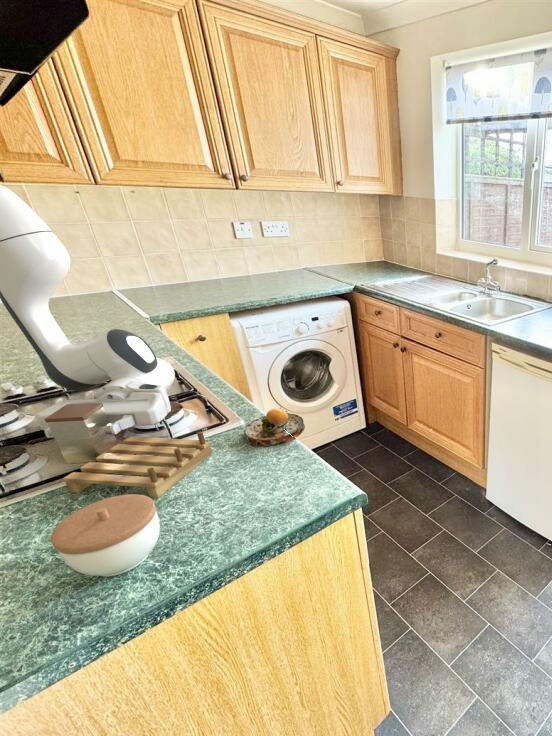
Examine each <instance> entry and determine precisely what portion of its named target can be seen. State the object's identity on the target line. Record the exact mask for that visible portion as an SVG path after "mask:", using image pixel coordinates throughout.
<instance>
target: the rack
mask: <svg viewBox="0 0 552 736" xmlns="http://www.w3.org/2000/svg"><path fill="white" fill-rule="evenodd" d="M196 435H197V438H198V439H183V438H171V437H170V438H168V437H152V436H137V435H136V436H135V435H130V436H128V437H127V438H126V439H124V440H123V442H124V444H122V443H118V444H117V445H116V446H114V447H113V448H111V449H110V450H111V453H103V454H101V455H100V456H98V457H97V458H96V460H97V462H86V463H84V465H82V466H81V467H79V469H80V471H81V472H78V471H77V472H76V471H72V472H71V473H69V474H67V475H66V476H64V477H63V481H64V482H65V485H66V486H67V489H68V490H69V493H75V494H80V493H82V492H83V491H85V490H86V489H87V488H89V487H90V486H92V485H93V484H94V485H109V486H123V487H124V486H125V487H140V488H146V489H145V490H146V491H147V493H148V497H149V498H151V499H152V498H153V499H154V498H155V499H159V498H161V497H162V496H163V495H164V494H165V493H167V492H168V491H169V490H170V489H171V488H173V486H175V485H176V484H177V483H179V482H180V481H181V480H182V479H184V477H186V476H187V475H188V474H189V473H190V472H192V471H193V470H195V468H196V467H198V466H199V465H200V464H201V463H203V462H204V461H205V460H206V459H207V458H208V457H210V456H211V455H212V454H213V450H212V446H211V441H210V440H206V439H205V437H204V436H205V435H204V432H203V431H198V432H196ZM134 454H136V455H134ZM121 463H123V464H121Z"/></svg>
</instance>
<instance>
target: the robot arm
mask: <svg viewBox="0 0 552 736" xmlns="http://www.w3.org/2000/svg"><path fill="white" fill-rule="evenodd" d="M71 262H72V261H71V256H70V254H69V252H68V250H67V248H66V247H65V245H64V244H63V243H62V241H61V240H60V239H59V238H58V237H57V235H56V234H55V233H54V232H53V231H52V228H50V227H49V225H48V224H46V222H45V221H44V220H43V219H42V218H41V217H40V216H39V214H38V213H37V212H35V210H34V209H32V208H31V207H30V206H29V204H27V203H26V202H25V201H24V200H23V199H22V198H21V197H19V196H18V195H17V194H16V193H15V192H14V191H13V190H11V189H10V188H8V187H6V186H4V185H1V184H0V300H1V303H2V304H3V306H4V307H5V309H6V310H7V312H8V314H9V315H10V316H11V318H12V319H13V321H14V323H15V324H16V325H17V327H18V328H19V329H20V331H21V332H22V334H23V335H24V337H25V338H26V340H27V341H28V343H29V344H30V345H31V347H32V348H33V349H34V351H35V352H36V354H37V356H38V357H39V359H40V361H41V364H42V366H43V368H44V370H45V373H46V375H47V376H48V378H49V379H50V381H52V382H53V383H54V384H56V385H57V386H59V387H61V388H64V389H67V390H69V391H75V392H79V393H80V392H83V393H84V392H89V391H91V390H94V389H95V388H97V387H99V386H101V385H103V386H102V387H100V388H98V389H97V390H96V392H95V393H94V395H93V398H71V399H65V400H60V401H59V402H56V403H53V404H52V405H50V406H48V407H46V408H44V409H42V410H40V411H38V413H36V414H35V419H36V421H37V424H38V425H39V428H40V429H41V430H42V431H44V435H45V436H46V438H47V439H55V438H54V436H53V434H52V432H51V429H50V427H49V425H48V423H46V421H45V418H47V417H48V416H50V415H51V414H53V413H54V412H56V411H57V410H59V409H60V408H62V407H63V406H65V405H67V404H84V403H103V405H104V406H103V408H104V410H105V413H106V415H107V418H108V420H109V424H108V425H107V426H105V427H104V429H105V431H106V434H114V435H118V433H120V432H121V431H123V430H126V429H129V428H131V427H136V426H153V425H155V424H159V423H160V422H161V421H163V420H164V419H165V418H166V417H167V415H168V414H169V413H170V412H171V411H172V407H171V403H170V402H171V401H170V399H169V396H168V393H167V392H168V391H169V390H170V389H171V387H172V386H173V384H174V382H175V377H176V372H175V370H174V367H173V366H172V365H171V363H169V362H168V361H167V360H165V359H163V358H159V357H157V356H156V354H155V352H154V350H153V348H152V347H151V345H149V343H148V342H147V341H146V340H145V339H143V337H140V336H139V335H137V334H136V333H134V332H132V331H129V330H125V329H121V328H113V329H110V330H107V331H105V332H102V333H100V334H98V335H95V336H92V337H91V338H89V339H86V340H83V341H81V342H78V343H76V344H72V342H70V340H69V339H68V338H67V336H66V335H65V332H64V331H63V330H62V328H61V327H60V325H59V324H58V323H57V321H56V320H55V318H54V316H53V314H52V313H51V311H50V306H49V304H50V303H49V302H50V298H51V297H52V295H53V293H54V292H55V290H56V289H57V288H58V287H59V286H60V285H61V284H62V283H63V282H64V280H65V279H66V278H67V277H68V274H69V272H70V269H71V265H72V263H71ZM106 382H108V383H106ZM105 383H106V384H105ZM104 384H105V385H104Z"/></svg>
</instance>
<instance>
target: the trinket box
mask: <svg viewBox="0 0 552 736" xmlns="http://www.w3.org/2000/svg"><path fill="white" fill-rule="evenodd" d="M160 525H161V523H160V518H159V514H158V512H157V507H156V504H155V501H154V500H153V499H152V498H151V497H149V496H148V495H145V494H137V493H136V494H135V493H131V494H130V493H129V494H128V493H127V494H121V495H120V494H119V495H115V496H111V497H107V498H104V499H101V500H98V501H95V502H92V503H90V504H88V505H86V506H83V507H81V508H80V509H77V510H75V511H74V512H73V513H71V514H69V515H68V516H67V517H65V518H64V519H63V520H61V521H60V522H59V523H58V524H57V525H56V526H55V528H54V529H53V531H52V533H51V534H50V543H51V545H52V547H53V548H54V550H56V551H57V552H58V554H59V556H60V558H61V559H62V561H63V562H65V564H66V565H67V566H68V567H70V568H71V569H72V570H74V571H76V572H78V573H79V574H83V575H85V576H86V575H87V576H95V577H107V578H108V577H115V576H119V575H122V574H125V573H127V572H130V571H131V570H133V569H135V568H137V567H138V566H139V565H141V564H142V563H143V562H144V561H145V560H146V559H147V558H148V557H149V555H150V553H151V552H152V551H153V549H154V548H155V546H156V544H157V542H158V540H159V538H160V532H161V530H160V529H161V528H160V527H161V526H160Z"/></svg>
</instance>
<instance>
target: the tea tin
mask: <svg viewBox="0 0 552 736" xmlns="http://www.w3.org/2000/svg"><path fill="white" fill-rule="evenodd" d="M103 406H104V405H103V403H84V404H67V405H65V406H63V407H62V408H60V409H59V410H57V411H56V412H54V413H53V414H51V415H50V416H48V417H47V418H45V421H46V423H48V425H49V427H50V429H51V432H52V434H53V436H54V438H53V439H54V440H55V442H56V445H57V446H58V449H59V450H60V452H61V455H62V457H63V460H64V461H65V463H66V464H67V465H68V464H69V465H70V464H82V463H83V464H86V463H89V462H95V463H97V462H96V461H97V460H96V458H97V457H98V456H100V455H101V454H103V453H112V452H111V450H110V449H111V448H113V447H114V446H116V445H117V444H119V443H118V441H117V438H116V436H115V435H116V434H106V431H105V429H104V427H105V426H107V425H108V424H109V420H108V418H107V415H106V413H105V410H104V408H103Z"/></svg>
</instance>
